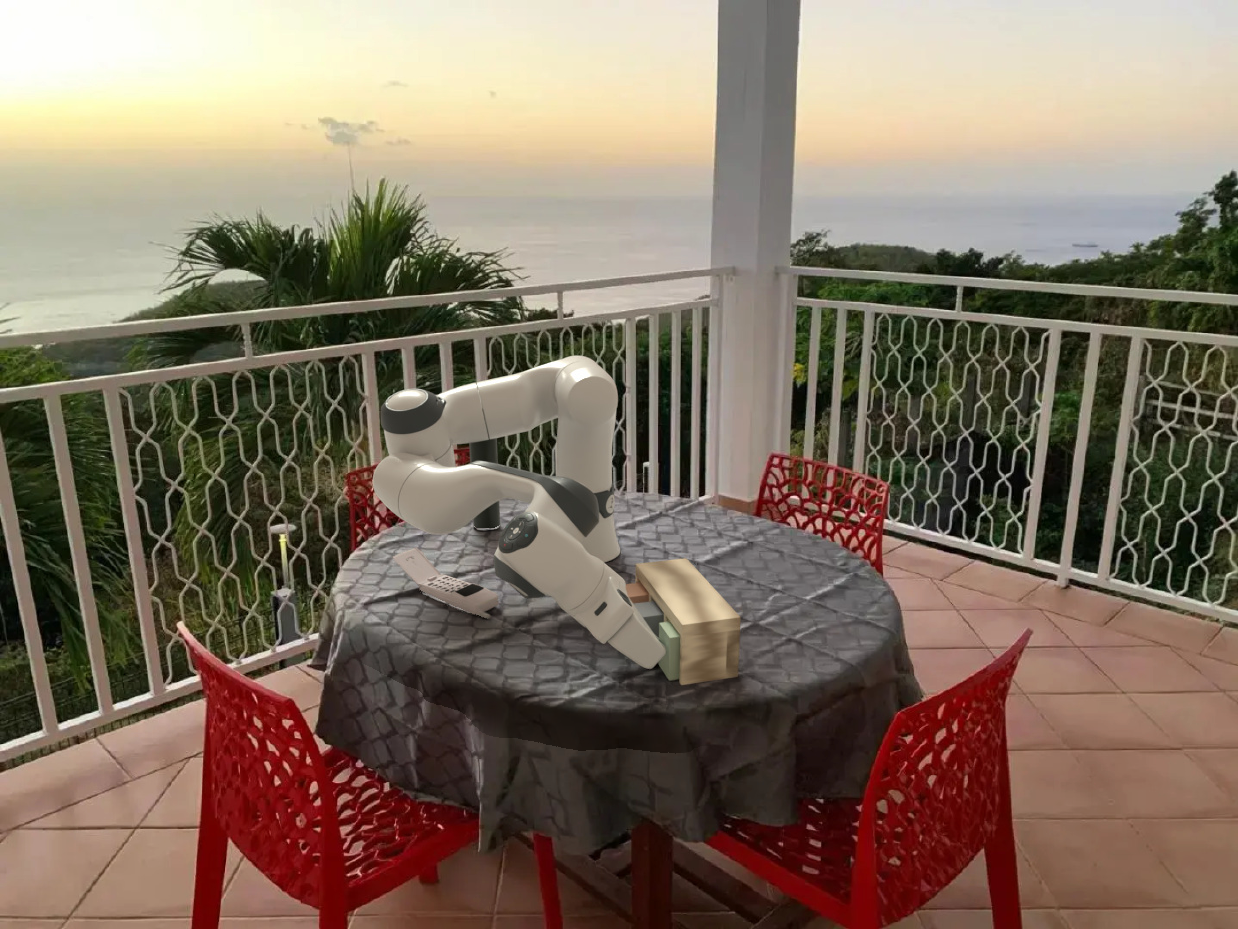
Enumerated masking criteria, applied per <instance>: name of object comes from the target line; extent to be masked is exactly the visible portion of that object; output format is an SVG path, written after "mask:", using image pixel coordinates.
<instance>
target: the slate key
mask: <svg viewBox="0 0 1238 929" xmlns="http://www.w3.org/2000/svg"><path fill="white" fill-rule="evenodd" d="M634 605H635V607H636V608H637V610H638V611H639V613H640V614H641V616H642V617H643V618H644V620H645V621H646V623H647V624H648V626H649V627H650V629H651V630H652V631H653V633H654V634H655V635H656V636H657V637H658V638H659V623H662V622H664V612H663V611H662V610H661V608H660V607H659V606H658V604H657V603H656V602H655V601H650V602H642V603H634Z"/></svg>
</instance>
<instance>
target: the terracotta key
mask: <svg viewBox="0 0 1238 929" xmlns="http://www.w3.org/2000/svg"><path fill="white" fill-rule="evenodd" d="M626 591H627V594H628V597H629V598H630V600H631V601H632V602H633V604H634V603H642V602H649V592H648V591H647V590H646V588H645V587H644V586H643V584H642V583H641V582H639V583H635V582H633V583H626Z"/></svg>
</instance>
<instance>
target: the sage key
mask: <svg viewBox="0 0 1238 929" xmlns="http://www.w3.org/2000/svg"><path fill="white" fill-rule="evenodd" d="M659 639H660V640H661V642H662V643H663V644H664V646H665V647H666V650H665V651H666V653H665V655H664V656H663V657H662V658H661V660H660V661H659V662H658V665H659V667H660V669H661V670H662V672H663V674H664V675H665V677H666V678H667V679H668V681H675V680H676V681H677V680H679V679H680V634H679V632H678V631H677V630H676V628H675V627H674V626H673V624H672V623H671V622H662V623H659Z"/></svg>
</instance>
